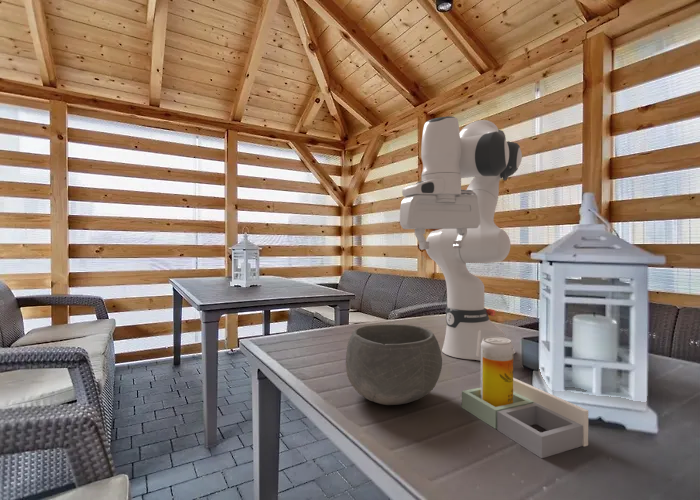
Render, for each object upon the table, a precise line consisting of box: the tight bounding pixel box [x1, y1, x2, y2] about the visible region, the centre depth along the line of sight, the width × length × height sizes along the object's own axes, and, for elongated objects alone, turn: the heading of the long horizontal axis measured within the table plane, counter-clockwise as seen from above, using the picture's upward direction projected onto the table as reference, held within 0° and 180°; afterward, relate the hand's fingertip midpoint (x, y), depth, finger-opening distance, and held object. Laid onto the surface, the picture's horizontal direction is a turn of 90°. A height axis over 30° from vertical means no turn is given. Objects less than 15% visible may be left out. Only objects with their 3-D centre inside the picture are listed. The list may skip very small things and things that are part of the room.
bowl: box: [345, 323, 443, 406], centre depth 81 cm, size 21×21×15 cm
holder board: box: [461, 377, 589, 459], centre depth 70 cm, size 10×20×6 cm, turn 22°
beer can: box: [480, 336, 514, 407], centre depth 74 cm, size 6×6×15 cm
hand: (441, 248), depth 85 cm, fingers open, 8 cm apart
